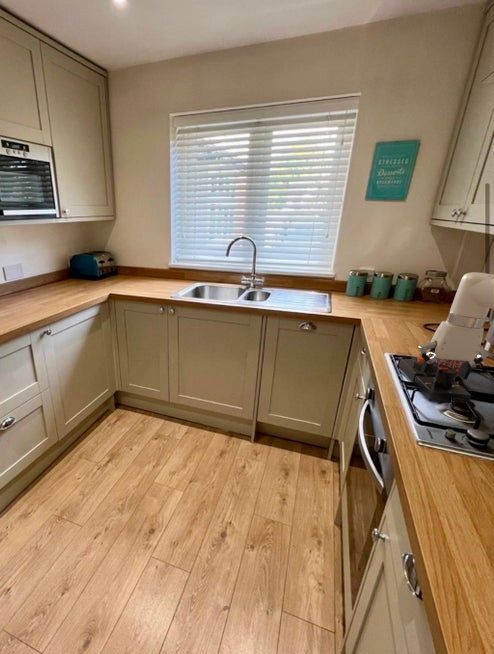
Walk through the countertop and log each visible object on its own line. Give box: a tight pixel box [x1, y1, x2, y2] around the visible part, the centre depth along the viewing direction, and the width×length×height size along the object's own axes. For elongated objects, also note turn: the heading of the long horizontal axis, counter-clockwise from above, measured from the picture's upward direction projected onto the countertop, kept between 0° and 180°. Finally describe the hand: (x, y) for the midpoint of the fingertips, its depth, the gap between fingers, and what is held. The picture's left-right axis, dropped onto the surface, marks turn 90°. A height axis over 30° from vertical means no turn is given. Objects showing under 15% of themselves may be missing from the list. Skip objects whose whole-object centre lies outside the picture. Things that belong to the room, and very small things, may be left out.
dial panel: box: [412, 376, 472, 404], centre depth 96 cm, size 10×9×3 cm
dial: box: [433, 366, 457, 389], centre depth 94 cm, size 4×4×5 cm
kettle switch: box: [417, 354, 424, 364], centre depth 104 cm, size 4×4×2 cm
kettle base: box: [398, 356, 438, 383], centre depth 105 cm, size 9×10×5 cm
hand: (443, 375), depth 94 cm, fingers open, 9 cm apart
